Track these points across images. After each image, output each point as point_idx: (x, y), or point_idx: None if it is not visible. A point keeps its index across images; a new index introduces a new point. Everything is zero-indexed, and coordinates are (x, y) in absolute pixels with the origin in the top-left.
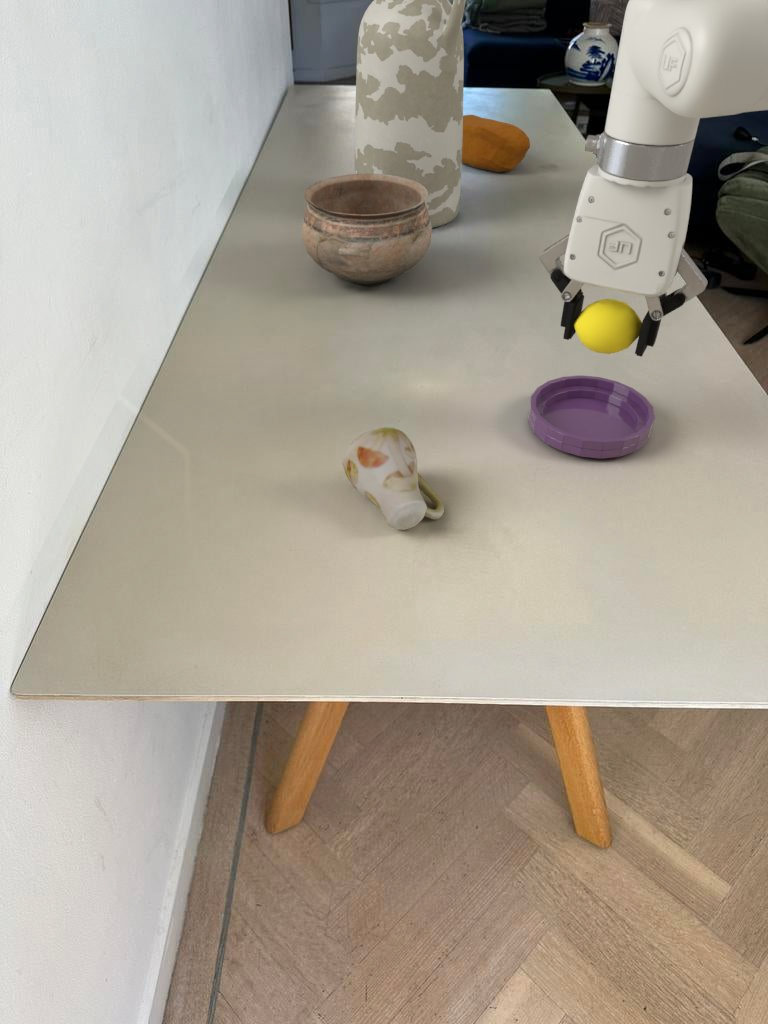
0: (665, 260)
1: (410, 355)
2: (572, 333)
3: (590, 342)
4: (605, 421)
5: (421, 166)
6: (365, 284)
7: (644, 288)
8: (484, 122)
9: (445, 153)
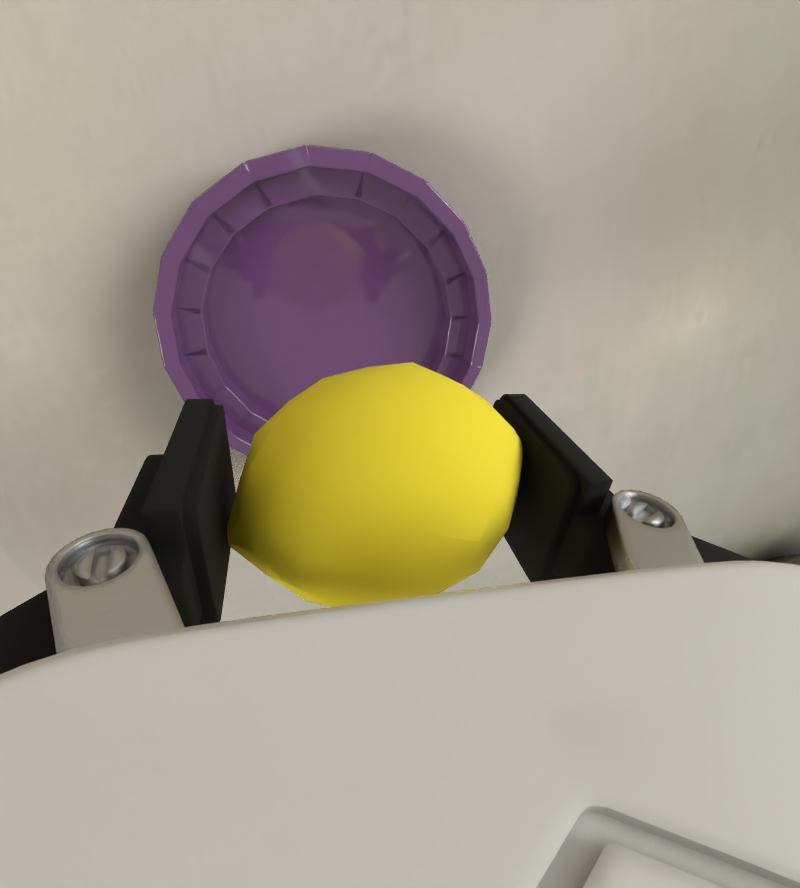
0: None
1: (713, 413)
2: None
3: (423, 367)
4: (295, 350)
5: None
6: (770, 560)
7: (135, 702)
8: None
9: None
